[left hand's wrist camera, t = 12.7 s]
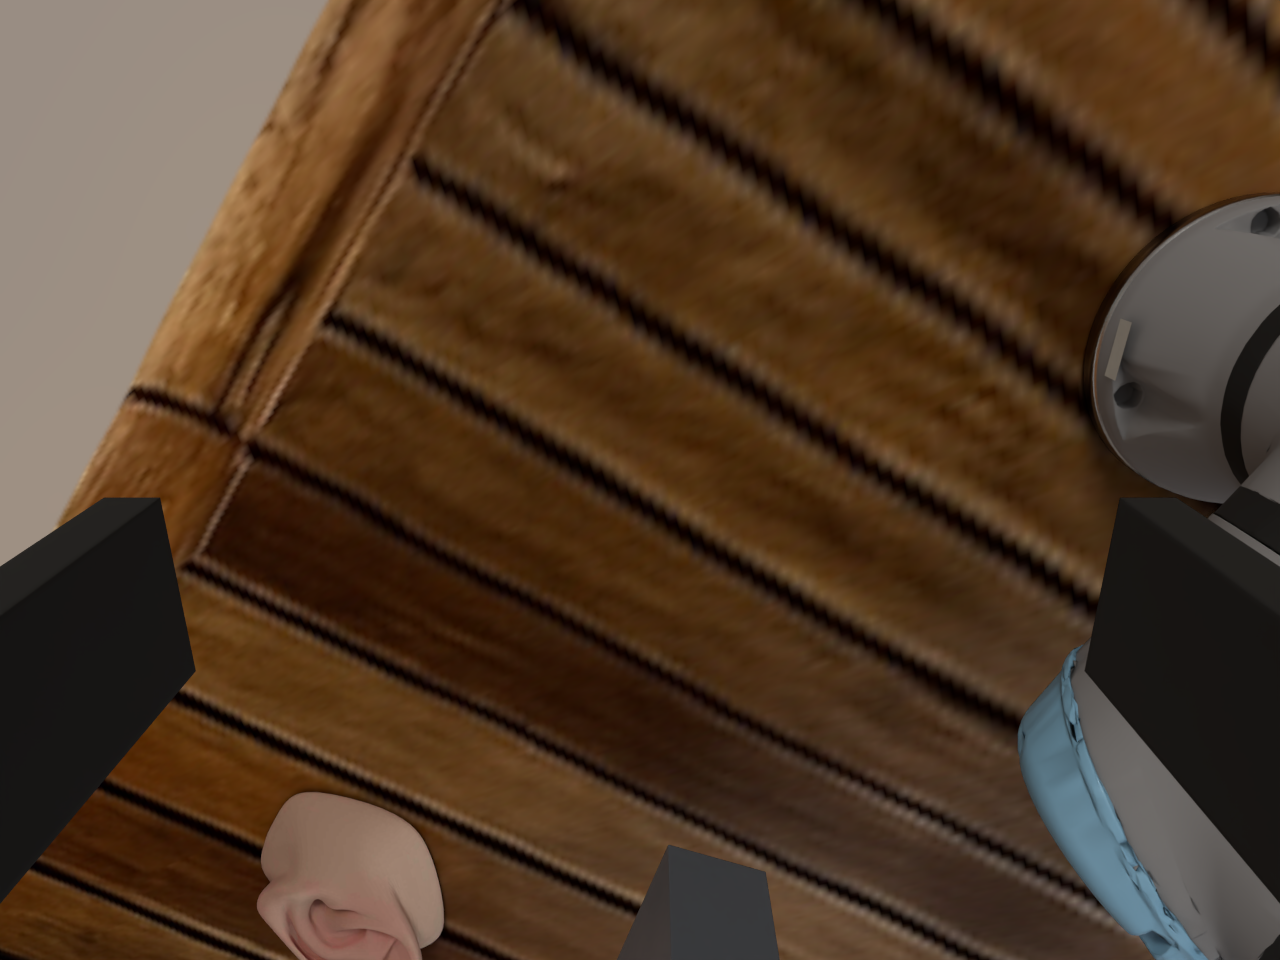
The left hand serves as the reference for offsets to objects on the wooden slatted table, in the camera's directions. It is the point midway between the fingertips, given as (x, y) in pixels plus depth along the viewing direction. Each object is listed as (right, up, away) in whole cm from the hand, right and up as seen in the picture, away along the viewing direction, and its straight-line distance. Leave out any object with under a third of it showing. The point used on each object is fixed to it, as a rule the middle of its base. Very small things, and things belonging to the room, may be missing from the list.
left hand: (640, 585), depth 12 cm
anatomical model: (-18, -24, +45) cm, 54 cm away
